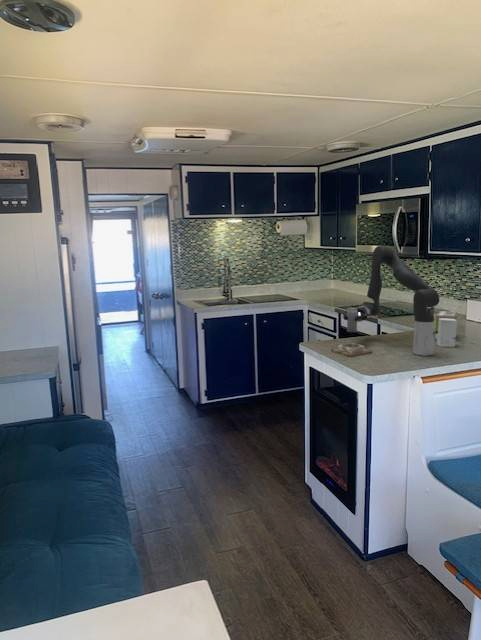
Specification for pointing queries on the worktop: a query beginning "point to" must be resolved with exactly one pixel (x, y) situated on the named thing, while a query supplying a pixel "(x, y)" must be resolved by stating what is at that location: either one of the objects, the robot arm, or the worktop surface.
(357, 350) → the mount board
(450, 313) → the tea box
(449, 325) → the skincare box
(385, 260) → the robot arm
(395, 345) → the worktop surface
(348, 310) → the dark grey cylinder
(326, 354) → the worktop surface
